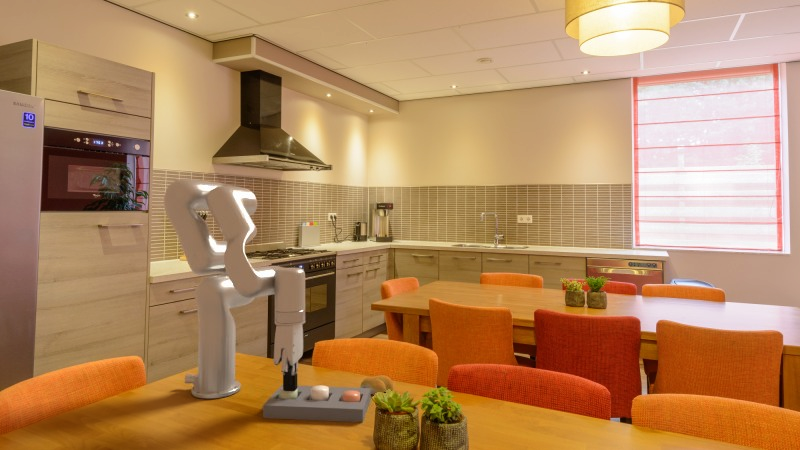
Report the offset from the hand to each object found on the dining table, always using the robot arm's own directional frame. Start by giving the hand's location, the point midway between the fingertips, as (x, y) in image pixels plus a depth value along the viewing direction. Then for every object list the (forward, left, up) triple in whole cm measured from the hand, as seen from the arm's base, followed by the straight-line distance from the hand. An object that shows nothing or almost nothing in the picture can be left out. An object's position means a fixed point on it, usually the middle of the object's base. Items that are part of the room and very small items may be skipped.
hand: (290, 389), depth 117 cm
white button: (+8, 0, -3) cm, 8 cm away
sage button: (0, 0, -4) cm, 4 cm away
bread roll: (+20, +15, -5) cm, 26 cm away
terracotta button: (+16, 0, -4) cm, 16 cm away
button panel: (+8, 0, -5) cm, 9 cm away
